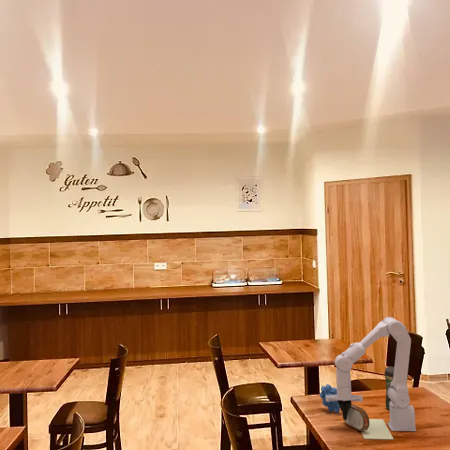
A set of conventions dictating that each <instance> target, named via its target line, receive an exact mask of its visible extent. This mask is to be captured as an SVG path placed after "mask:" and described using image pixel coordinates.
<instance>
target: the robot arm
mask: <svg viewBox="0 0 450 450" xmlns="http://www.w3.org/2000/svg"><path fill="white" fill-rule="evenodd" d="M390 335H391V336H392V338H393V339H394V340H395V341H396V349H395V359H394V366H393V367H394V376H393V380H392V382H391V385H390V388H389V389H388V392H387V394H388V397H389V398H390V403H389V407H390V410H389V421H388V422H387V426H388V428H389V430H390V431H392V432H393V431H394V432H417V429H416V413H415V407H414V406H413V405H410V401H411V398H410V396H409V395H410V394H409V387H408V384H407V383H408V379H407V374H408V372H409V363H410V355H411V344H412V338H411V337H410V334H409V332H408V330H407V326H406V325H405V324H404V323H402V322H401V321H400V320H397V319H395V318H394V317H392V316H387V317H385V318H383V319H382V320H381V321H379V322H378V324H376V326H375V327H373V329H372V330H371V331H370V332H369V333H367V335H365V336H364V338H363V339H361V341H359V342H354V343H353V342H352V343H351V344H349V347H348V348H347V349H346V350H345V351H342V352H341V354H338V355H337V356H336V357H335V360H334V362H333V363H334V365H335V367H336V368H335V373H336V374H335V375H336V389H337V394H336V395H326V401H327V402H329V401H337V402H338V404H339V406H340V408H339V409H340V410H341V415H342V419H343V421H344V420H347V415H348V412H349V409H350V407H351V405H352V404H353V403H352V402H359V403H363V402H364V398H363V395H356V394H352V379H351V370H352V368H353V364H355V363H356V362H358V360H360V358H362V357H363V356H364V355H365V354H366V349H367V348H369V347H370V346H372V344H374V343H375V342H376V341H377V340H379V339H380V338H381V337H382V338H383V337H387V338H388V337H390Z"/></svg>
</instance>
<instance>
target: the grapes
mask: <svg viewBox="0 0 450 450" xmlns="http://www.w3.org/2000/svg"><path fill="white" fill-rule="evenodd" d="M320 390H321V392H320V393H319V397H320V398H321V400H322V405H323V406H324V407H327V410H328V411H329V412H330V413H333V412H335V413H336V414H338V413H340V410H341V409H340V406H339V404H338V402H337V401H329V402H327V401H326V395H336V394H337V387H335V386H334V387H332V385H331V384H328V383H327V384H326V385H325V386H324V385H322V386H321V387H320Z"/></svg>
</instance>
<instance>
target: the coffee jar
mask: <svg viewBox="0 0 450 450" xmlns="http://www.w3.org/2000/svg"><path fill="white" fill-rule="evenodd" d="M394 367H395V366H387V367H385V369H384V379H385V386H386V388H385V389H386V390H385V394H386V395H385V409H387V410H389V411H390V407H389V403H390V398H389V397H388V394H387V392H388V389H389V388H390V385H391V382H392V380H393V376H394ZM408 379H409V376H408V374H407V380H408Z"/></svg>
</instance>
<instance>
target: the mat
mask: <svg viewBox="0 0 450 450" xmlns="http://www.w3.org/2000/svg"><path fill="white" fill-rule="evenodd" d="M360 432H361V435H362V437H363V440H390V441H391V440H394V437H393V436H392V434H391V430H390V429H389V427H388V425H387V424H386V423H385V420H384V418H381V419H380V418H369V428H368V429H367V430H365V431H360ZM394 441H395V440H394Z"/></svg>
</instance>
